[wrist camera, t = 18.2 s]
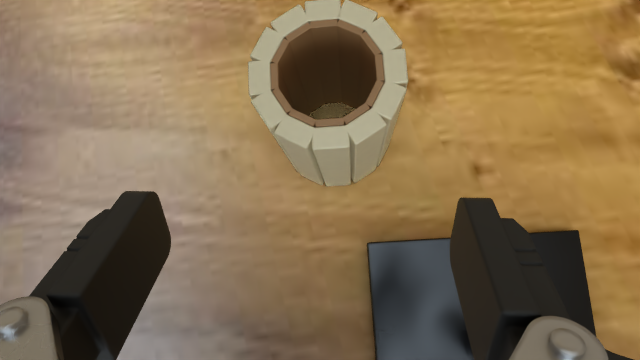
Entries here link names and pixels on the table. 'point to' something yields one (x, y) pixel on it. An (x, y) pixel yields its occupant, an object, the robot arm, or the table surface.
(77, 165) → the table surface
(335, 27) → the wooden cup
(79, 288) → the robot arm
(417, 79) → the table surface
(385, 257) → the stand
